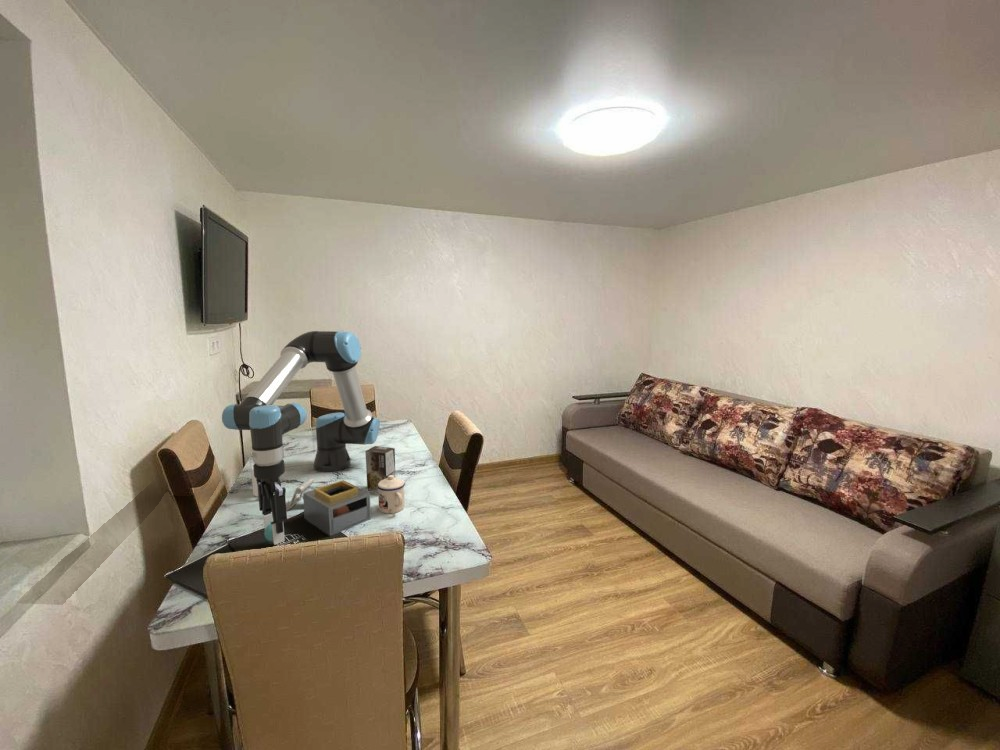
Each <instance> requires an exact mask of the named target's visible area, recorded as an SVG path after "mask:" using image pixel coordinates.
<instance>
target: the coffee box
mask: <svg viewBox="0 0 1000 750" xmlns="http://www.w3.org/2000/svg"><path fill="white" fill-rule="evenodd" d="M395 449H396V448H395V447H385V446H377V445H374V446H372V447H370V448H369V449H367V450H365V468H366V469H365V470H366V472H365V473H366V487H367V489H366V491H367V492H369V493H370V492H371V493H375V494H376V493H377V494H378V487H377V486H378V483H379V482H380V481H382V480H384V479H387V478H388V476H389V475H393V476H394V477H395V478H397V477H396V456H395V455H396V452H395V451H396V450H395Z"/></svg>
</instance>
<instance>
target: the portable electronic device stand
mask: <svg viewBox="0 0 1000 750" xmlns="http://www.w3.org/2000/svg"><path fill="white" fill-rule="evenodd" d="M314 482H315V481H314V479H313V478H311V477H310V478H308V479H307V480H305V481H304V482H303V483H302V484H300V485H299V486H298V487H297V488H295V490H294V493H293V495H292V497H291V500H288V501H286V512H288V511H289V510H291V509H292V507H293V506H294V505H296V504H297V503H298V502H299V501H301V500H303V501H304V499H303V493H305V492H308V491H310V489H309V487H310V486H312V485H313V484H314ZM298 495H299V496H298Z"/></svg>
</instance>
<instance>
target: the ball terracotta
mask: <svg viewBox="0 0 1000 750" xmlns="http://www.w3.org/2000/svg"><path fill="white" fill-rule="evenodd" d="M347 512H349V508H348V506H346V505H344V506H341V507H339V508H336V509H334V510H333V517H334V518H335V517H337V516H340V515H342V514H345V513H347Z"/></svg>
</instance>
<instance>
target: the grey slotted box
mask: <svg viewBox="0 0 1000 750" xmlns="http://www.w3.org/2000/svg"><path fill="white" fill-rule="evenodd" d="M303 499H304V500H303ZM302 500H303V514H304V519H305V518H306V519H308V520H309V521H310V522H312V523H313V524H314V525H316V526H317V527H318V528H319V529H318V528H317V527H316V528H317V529H318V530H320V529H321V530H322V531H321V530H320V531H321V532H323V533H324V532H325V533H324V534H326V533H327V534H328V535H327V534H326V535H327V536H329V535H330V536H329V537H331V535H332V536H334V535H336V534H339V533H341V532H343V531H346V530H348V529H351V528H353V527H355V526H359V525H360V524H362V523H365V522H367V521H369V520H371V519H372V517H371V515H372V514H371V493H370V492H369V491H367V490H364V489H363V488H361V487H358V486H356V485H354V484H352V483H350V482H348V481H345V480H339V481H336V482H334V483H330V484H327V485H324V486H321V487H317V488H314V489H312V490H309V491H308V492H305V493H303V497H302ZM344 505H346V506H348V508H349V512H347V513H345V514H342V515H340V516H337V517H335V518H334V517H333V510H334V509H336V508H339V507H341V506H344ZM314 525H313V526H314Z"/></svg>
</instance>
